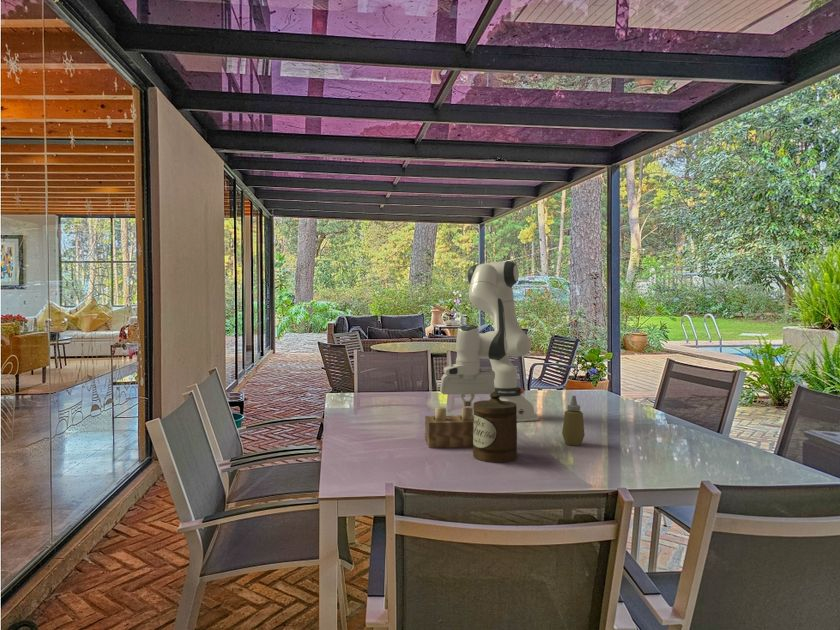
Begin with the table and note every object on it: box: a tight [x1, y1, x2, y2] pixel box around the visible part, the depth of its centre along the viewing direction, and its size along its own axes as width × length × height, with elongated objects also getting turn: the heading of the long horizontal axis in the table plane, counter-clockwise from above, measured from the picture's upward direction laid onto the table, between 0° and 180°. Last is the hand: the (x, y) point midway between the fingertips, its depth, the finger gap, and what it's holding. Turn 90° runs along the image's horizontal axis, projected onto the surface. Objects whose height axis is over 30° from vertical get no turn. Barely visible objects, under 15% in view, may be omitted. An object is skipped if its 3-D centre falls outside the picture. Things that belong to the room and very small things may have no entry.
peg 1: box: [434, 406, 447, 421], centre depth 214 cm, size 4×4×8 cm
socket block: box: [424, 414, 474, 449], centre depth 215 cm, size 20×12×9 cm, turn 96°
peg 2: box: [461, 406, 474, 420], centre depth 215 cm, size 4×4×8 cm
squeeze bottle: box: [561, 395, 585, 447], centre depth 214 cm, size 8×8×18 cm
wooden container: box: [472, 392, 518, 463], centre depth 197 cm, size 15×15×22 cm
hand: (467, 406), depth 215 cm, fingers closed
